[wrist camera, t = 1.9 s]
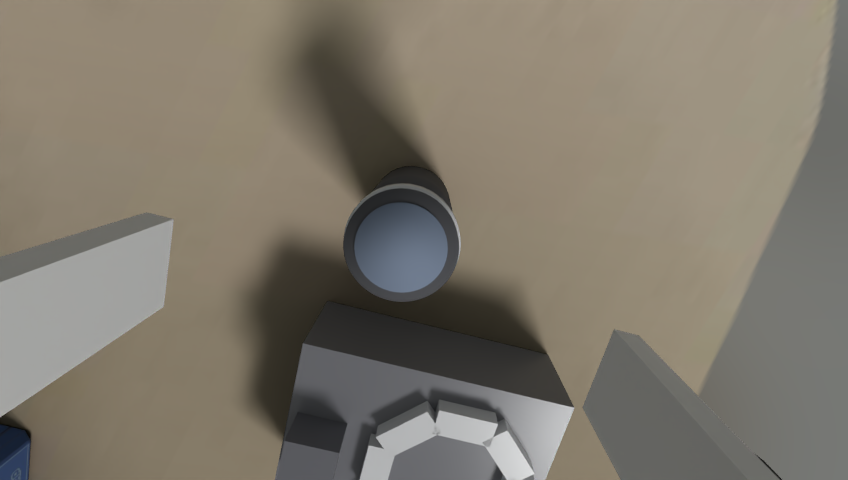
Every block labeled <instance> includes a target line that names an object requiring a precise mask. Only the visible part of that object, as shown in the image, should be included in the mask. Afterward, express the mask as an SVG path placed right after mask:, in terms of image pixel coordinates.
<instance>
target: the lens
mask: <svg viewBox="0 0 848 480" xmlns="http://www.w3.org/2000/svg"><path fill="white" fill-rule="evenodd" d="M460 246H461V241H460V233H459V228H458V224H457V221H456V218H455V216H454V214H453V212H452V207H451V203H450V199H449V195H448V192H447V189H446V187H445V185H444V184H443V182H442V181H441V180H440V179H439V178H438V177H437V176H436V175H435V174H434V173H432V172H431V171H429V170H427V169H424V168H421V167H415V166H408V167H402V168H398V169H396V170H394V171H392V172H390V173H389V174H387V175H386V176H385V177H384V178H383V179H382V180H381V181H380V183H379V184H378V185H377V186H376V187H375V189H374V190H373V191H372V192H371V193H370V194H369V195H367V196H366V197H365V198H364V199H363V200H362V201H361V202H360V203H359V204H358V205H357V207H356V208H355V209H354V210H353V212H352V214H351V215H350V217H349V219H348V222H347V224H346V228H345V233H344V242H343V249H344V256H345V260H346V263H347V266H348V268H349V270H350V272H351V273H352V275H353V277H354V278H355V279H356V281H357V282H358V283H359V284H360V285H361V286H362V287H363V288H365V289H366V290H367V291H369V292H370V293H372V294H374V295H376V296H378V297H380V298H383V299H386V300H390V301H397V302H407V301H414V300H419V299H422V298H424V297H427V296H429V295H431V294H432V293H434V292H436V291H437V290H438V289H439V288H441V287H442V286H443V285H444V284H445V283H446V282H447V280H448V279H449V278H450V276H451V275H452V273H453V271H454V269H455V266H456V264H457V261H458V258H459V254H460Z"/></svg>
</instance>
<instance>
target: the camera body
mask: <svg viewBox="0 0 848 480" xmlns="http://www.w3.org/2000/svg"><path fill="white" fill-rule="evenodd" d="M573 410H574V406H573V404H572V402H571V400H570V398H569V396H568V394H567V392H566V390H565V388H564V386H563V384H562V382H561V380H560V378H559V376H558V374H557V372H556V370H555V368H554V366H553V364H552V362H551V360H550V358H549V356H548V355H547V354H543V353H539V352H535V351H531V350H527V349H523V348H519V347H514V346H510V345H506V344H502V343H498V342H494V341H490V340H486V339H482V338H477V337H473V336H469V335H465V334H461V333H457V332H453V331H449V330H445V329H440V328H436V327H432V326H428V325H424V324H420V323H416V322H412V321H408V320H403V319H399V318H395V317H391V316H387V315H383V314H379V313H375V312H371V311H367V310H362V309H358V308H354V307H350V306H346V305H342V304H338V303H334V302H330V301H327V302H326V304H325V306H324V308H323V309H322V311H321V313H320V315H319V316H318V318H317V320H316V322H315V323H314V325H313V327H312V328H311V330H310V332H309V334H308V335H307V337H306V339H305V341H304V342H303V346H302V350H301V355H300V360H299V365H298V370H297V375H296V380H295V385H294V389H293V394H292V399H291V404H290V409H289V414H288V419H287V424H286V428H285V433H284V438H283V443H282V448H281V453H280V458H279V463H278V467H277V472H276V477H275V480H545V479H546V477H547V474H548V472H549V469H550V467H551V464H552V462H553V459H554V457H555V454H556V452H557V450H558V447H559V445H560V442H561V440H562V437H563V435H564V432H565V430H566V427H567V425H568V422H569V420H570V417H571V415H572V412H573Z"/></svg>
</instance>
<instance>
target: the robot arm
mask: <svg viewBox="0 0 848 480" xmlns="http://www.w3.org/2000/svg"><path fill="white" fill-rule="evenodd" d="M173 221H174V219H171V218H167V217H163V216H159V215H155V214H151V213H147V212H146V213H143V214H140V215H136V216H133V217H130V218H127V219H123V220H120V221H117V222H114V223H110V224H107V225H104V226H100V227H97V228H94V229H91V230H87V231H84V232H81V233H78V234H74V235H71V236H68V237H65V238H61V239H58V240H55V241H51V242H48V243H45V244H42V245H38V246H35V247H32V248H29V249H25V250H22V251H19V252H15V253H12V254H9V255H6V256H2V257H0V417H1V416H3V415H4V414H6V413H7V412H9V411H10V410H12V409H13V408H15V407H16V406H18V405H19V404H21V403H22V402H24V401H25V400H27V399H28V398H29V397H31V396H32V395H34V394H35V393H37V392H38V391H40V390H41V389H43V388H44V387H46V386H47V385H49V384H50V383H52V382H53V381H55V380H56V379H58V378H59V377H61V376H62V375H63V374H65V373H66V372H68V371H69V370H71V369H72V368H74V367H75V366H77V365H78V364H80V363H81V362H83V361H84V360H86V359H87V358H89V357H90V356H92V355H93V354H95V353H96V352H97V351H99V350H100V349H102V348H103V347H105V346H106V345H108V344H109V343H111V342H112V341H114V340H115V339H117V338H118V337H120V336H121V335H123V334H124V333H126V332H127V331H129V330H130V329H131V328H133V327H134V326H136V325H137V324H139V323H140V322H142V321H143V320H145V319H146V318H148V317H149V316H151V315H152V314H154V313H155V312H157V311H158V310H160V309H161V308H162V307H164V299H165V291H166V282H167V273H168V264H169V256H170V247H171V238H172V230H173ZM583 409H584V411H585V413H586V415H587V417H588V419H589V421H590V423H591V425H592V426H593V428H594V430H595V432H596V434H597V436H598V438H599V440H600V441H601V443H602V445H603V447H604V449H605V451H606V453H607V455H608V457H609V458H610V460H611V462H612V464H613V466H614V468H615V470H616V472H617V473H618V475H619V477H620V479H621V480H782V479H781V478H780V477H779V476H778V475H777V474H776V473H775V472H774V471H773V470H772V469H771V468H770V467H769V466H768V465H767V464H766V463H765V462H764V461H763V460H762V459H761V458H760V457H758V456H757V455H755V454H754V453H753V452H752V451H751V450H750V449H749V448H748V447H747V446H746V445H745V444H744V443H743V442H742V441H741V440H740V439H739V438H738V436H737V435H736V434H735V433H734V432H732V430H731V429H730V428H729V427H728V426H727V425H726V424H725V423H724V422H723V421H722V420H721V419H720V418H719V417H718V416H717V415H716V414H715V413H714V412H713V411H712V410H711V409H710V408H709V407H708V406H707V405H706V404H705V403H704V402H703V401H702V400H701V399H700V398H699V397H698V396H697V395H696V394H695V393H694V392H693V391H692V389H691V388H690V387H689V386H688V385H687V384H686V383H685V382H684V381H683V380H682V379H681V378H680V377H679V376H678V375H677V374H676V373H675V372H674V371H673V370H672V369H671V368H670V367H669V366H668V365H667V364H666V363H665V362H664V361H663V360H662V359H661V358H660V357H659V356H658V355H657V354H656V353H655V352H654V351H653V350H652V349H651V348H650V347H649V346H648V345H647V344H646V343H645V341H644V340H643V339H642V338H641V337H640V336H639V335H635V334H631V333H627V332H623V331H619V330H615V329H614V331H613V333H612V336H611V338H610V341H609V343H608V346H607V348H606V351H605V353H604V356H603V358H602V361H601V363H600V365H599V368H598V370H597V373H596V375H595V378H594V380H593V383H592V385H591V388H590V390H589V393H588V395H587V398H586V400H585V403H584V405H583Z"/></svg>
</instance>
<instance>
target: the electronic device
mask: <svg viewBox="0 0 848 480" xmlns="http://www.w3.org/2000/svg"><path fill="white" fill-rule="evenodd" d="M30 443H31V440H30V438H29V437H28V435H27V433H26V431H25V430H21V429H17V428H13V427H9V426H5V425H1V424H0V480H28V475H29V459H30Z"/></svg>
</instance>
